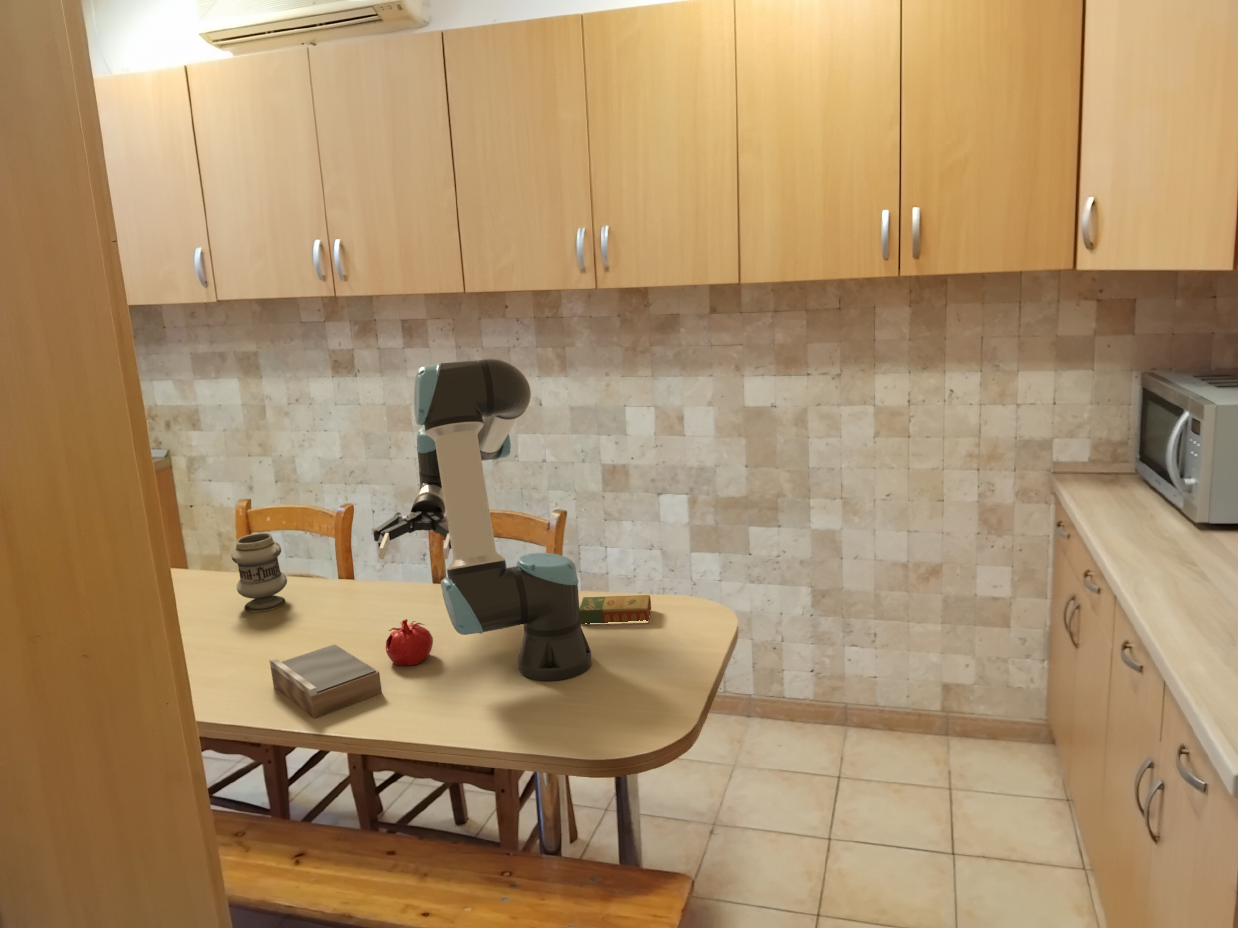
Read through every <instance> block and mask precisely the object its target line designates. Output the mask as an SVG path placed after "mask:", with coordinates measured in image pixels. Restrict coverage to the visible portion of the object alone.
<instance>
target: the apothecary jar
mask: <svg viewBox="0 0 1238 928" xmlns="http://www.w3.org/2000/svg"><path fill="white" fill-rule="evenodd" d="M235 544H236V546H235V548H234V549H233V551H232V552H231V557H230V558H231V560H232V561H233V562H234V563H236V564H237V567H238V571H239V572H238V573H239V580H238V582H237V584H236V591H237V593H238V594H239V595H241V596H242V597H244V598H246V599H252V600H249V601H248V602H247V603H246V604H245V605H244V608H243V609H244V610H245V611H248V612H249V611H250V613H262V611H264V612H268V611H267V610H269V611H272V609H273V610H275V609H278V608H280V607H282V606H283V605H285V603H286V599H285V598H284V597H283V596H279V595H276V594H279V593H280V592H281V591H282V590H283V589H284V588H285V587H286V585H288V584H287V583H288V578H287V575H285V573H283V572H282V571H281V569H280V565H279V564H280V563H279V559H278V557H279V556H280V555H281V553H282V548H281V547H282V546H281V545H280V544H279V543H278V542H276V541H275V540H274V539H273V536H272V533H267V532H259V533H252V534H251V533H250V534H248V535H243V536H241V537H239V538H238V539H237V540H236V543H235Z"/></svg>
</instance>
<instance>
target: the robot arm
mask: <svg viewBox="0 0 1238 928" xmlns="http://www.w3.org/2000/svg"><path fill="white" fill-rule="evenodd" d="M413 390H414V393H413V394H414V395H413V398H414V399H413V402H414V403H413V404H414V406H413V408H414V409H413V410H414V417H415V420H414V421H415V423H416V425H419V426H424V427H421V428H420V429H419V430H418V432H417V433H416V452H417V461H418V462H417V463H418V475H419V477H418V478H419V488H418V491H417V493H416V494H417V495H416V496H415V499H414V500H413V501H414V502H413V503H412V507H411V509H410V513H408V514H407V515H402V512H399V511H397V512H395V514H394V515H393V516H392V517H390V518H389V519H388V520H386V521H385V522H383V523H382V524H381V525H379V526H378V527H376V528H375V529H373V531H372V532H373V533H372V534H373V540H374V541H375V542H377V546H378V549H379V550H378V551H379V559H380V560H385V557H386V555H387V552H388V550H389V547H390V544H391V541H392V540H394V539H396V538H399V537H401V536H403V535H405V534H407V533H408V534H411V533H414V532H416V531H433V532H434V533H435V534H439V535H440V536H442V537H443V538H444V539H445V541H444V544H443V548H442V551H443V560H448V559H449V554H450V553H451V554H452V560H451V562H450V564H449V565H448V566H447V568H446V572H447V573H446V574H447V577H446V576H445V577H444V578H443V579H442V580H441V581H440V588H441V591H442V594H441V595H442V598H443V602H444V605H445V608H446V612H447V614H448V618H449V620H450V623H451V625H452V626H453V629H454V630H455V631H456V632H457V634H459V635H462V636H463V635H464V636H466V635H467V636H468V635H474V634H475V635H476V634H483V633H485V632H486V633H487V632H491V631H496V630H501V629H506V628H507V629H508V628H513V627H516V626H523V637H522V640H521V644H520V648H519V649H520V650H519V653H518V656H517V663H518V664H517V666H518V671H519V673H520V674H521V675H523V676H524V677H526V678H528V679H532V680H536V681H544V682H545V681H551V682H552V681H560V680H562V681H563V680H566V679H571V678H573V677H577V676H580V675H581V674H583V673H585V672H587V670H589V669H590V667H591V666H592V663H593V659H592V658H593V657H592V650H591V648H590V645H589V642H588V640H587V637H586V636H585V634H584V631H583V629H582V625H581V622H580V609H579V608H580V599H579V585H578V584H579V579H578V575H577V574H578V573H577V567H576V564H575V563H574V561H573V560H572V559H570V558H569V557H567V556H564V555H561V554H557V553H552V552H551V553H550V552H533V553H526V554H524V555H521V556H519V557H518V558H517V562H516V565H515V566H512V567H511V566H510V567H507V563H506V562H507V561H506V558H505V557H504V556H502V555H501V554H499V553H498V552H497V549H496V542H495V537H494V536H495V535H494V530H493V525H492V518H491V517H492V516H491V511H490V506H489V499H488V493H487V486H486V481H485V474H484V467H483V463H482V462H484V461H491V460H492V461H494V460H495V461H496V460H499V459H503V458H507V457H509V455H511V449H512V448H511V446H512V445H511V439H510V438H511V437H510V434H509V433H510V431H511V430H512V427H513V425H514V423H515V421H516V420H517V419H518V418H520V417H521V416H522V415H523V414H524V413H525V412H526V410H527V408H528V407H529V404H530V401H531V397H532V395H531V394H532V393H531V392H532V391H531V387H530V384H529V381H528V379H527V377H526V376H525V374H523V372H522V371H521V370H519V369H518V368H517V367H516V366H514V365H513V364H510V363H509V362H507V361H504V360H501V359H493V358H485V359H477V360H467V361H465V360H464V361H454V362H438V363H436V364H431V365H425V366H421V367H420V368H418V370H417V371H416V374H415V380H414V389H413ZM450 551H451V552H450Z"/></svg>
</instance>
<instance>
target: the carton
mask: <svg viewBox="0 0 1238 928" xmlns="http://www.w3.org/2000/svg"><path fill="white" fill-rule="evenodd" d="M581 600H582V601H581V603H580V604H579V609H580V622H581V624H585V623H587V624H590V623H608V622H628V621H639V620H640V621H643V620H646V621H648V620H649V621H650V618H649V616H650V617H651V613H650V610H651V611H652V600H651V595H649V594H647V595H646V594H645V595H644V594H643V595H641V594H640V595H619V596H618V595H617V596H616V595H615V596H612V595H611V596H584V597H582V599H581Z"/></svg>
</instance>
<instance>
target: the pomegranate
mask: <svg viewBox="0 0 1238 928" xmlns="http://www.w3.org/2000/svg"><path fill="white" fill-rule="evenodd" d="M408 621H409V620H408V619H407V618H405V619H403V620H402V621H401V622H400V621H399V624H400V626H401V627H398V628H397V627H392V628H391V629H388V631H389V632H391V633H390V634H389V636H388V637H387V639H386V640H385V652H386V654H387V657H388V658H389V659H390V661H391V662H392V663H394V664H395V665H397V666H401V667H402V666H403V667H405V666H406V667H407V666H414V665H418V664H420V663H421V662H423V661H425V660H426V659H427V658H428V657H429V655H430V653H431V651H432V648H433V644H434V637H433V635H432V634H431V632H430V630H429V629H427V628H425V627H423V625H426V624H424V623H421V622H416V620H413V621H411V622H410V624H408ZM421 625H422V626H421ZM392 630H394V631H392Z"/></svg>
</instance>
